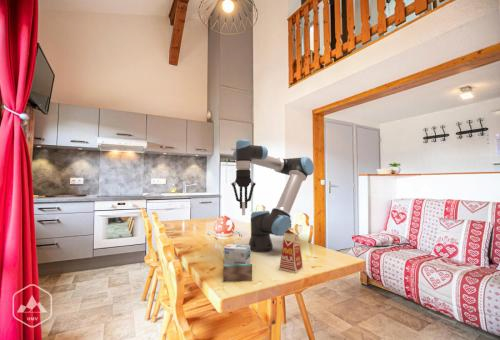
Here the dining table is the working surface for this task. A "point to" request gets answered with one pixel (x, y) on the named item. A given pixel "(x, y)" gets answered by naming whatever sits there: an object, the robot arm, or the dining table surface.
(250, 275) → the rack
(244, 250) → the light bulb box
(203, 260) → the dining table surface
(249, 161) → the robot arm
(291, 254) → the milk carton
